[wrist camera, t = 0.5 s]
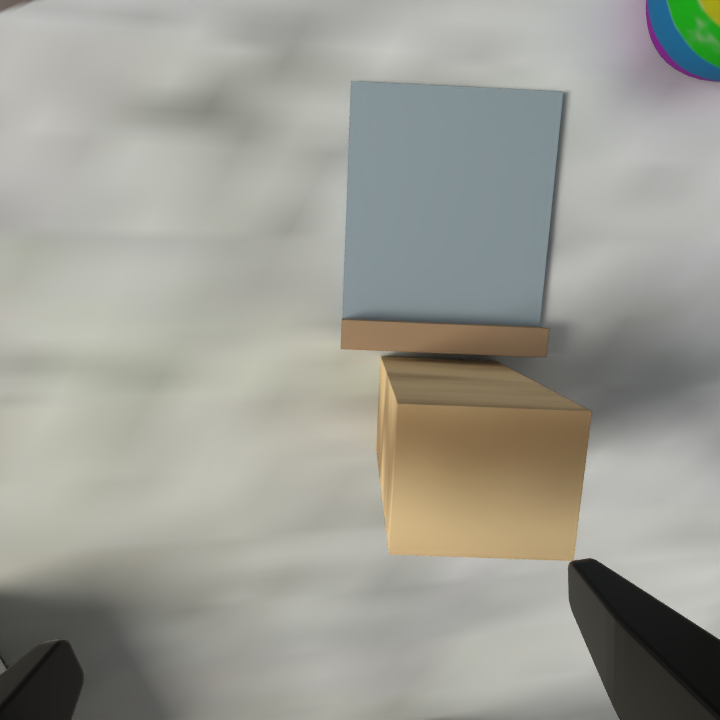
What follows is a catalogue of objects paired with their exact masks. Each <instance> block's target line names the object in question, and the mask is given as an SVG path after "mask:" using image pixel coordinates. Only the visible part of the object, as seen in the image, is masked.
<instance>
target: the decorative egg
mask: <svg viewBox="0 0 720 720" xmlns="http://www.w3.org/2000/svg"><path fill="white" fill-rule="evenodd" d="M646 17H647V25H648V30H649V34H650V37H651V40H652V42H653V44H654V46H655V48H656V50H657V51H658V53H659V54H660V56H661V57H662V58H663V59H664V60H665V61H666V62H667V63H668V64H669V65H671V66H672V67H673V68H675V69H676V70H678V71H680V72H682V73H684V74H686V75H688V76H691V77H694V78H698V79H702V80H709V81H719V82H720V0H646Z"/></svg>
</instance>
